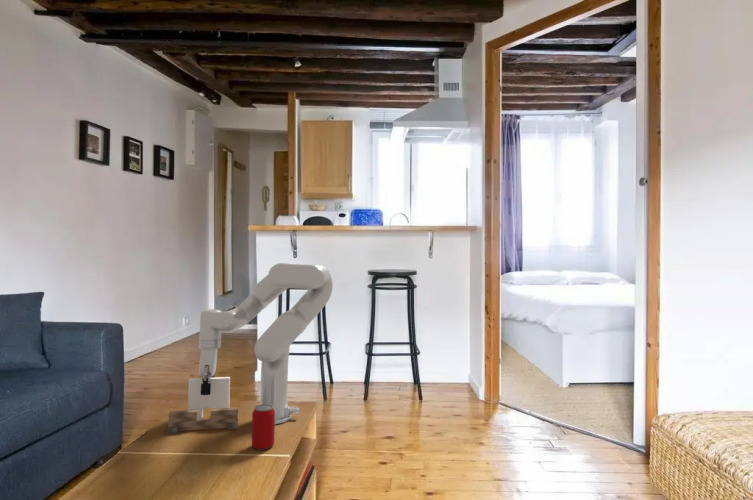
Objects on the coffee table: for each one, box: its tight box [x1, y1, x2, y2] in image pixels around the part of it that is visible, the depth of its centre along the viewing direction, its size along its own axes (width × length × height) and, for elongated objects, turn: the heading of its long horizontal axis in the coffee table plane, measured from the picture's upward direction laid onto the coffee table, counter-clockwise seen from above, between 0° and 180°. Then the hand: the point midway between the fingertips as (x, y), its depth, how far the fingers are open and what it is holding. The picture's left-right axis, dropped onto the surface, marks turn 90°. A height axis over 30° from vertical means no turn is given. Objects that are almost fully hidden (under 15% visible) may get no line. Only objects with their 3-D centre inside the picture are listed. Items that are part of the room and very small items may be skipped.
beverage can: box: [251, 404, 276, 451], centre depth 136 cm, size 7×7×12 cm
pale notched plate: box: [187, 376, 231, 419], centre depth 161 cm, size 2×14×14 cm, turn 103°
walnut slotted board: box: [166, 407, 239, 435], centre depth 150 cm, size 22×6×6 cm, turn 103°
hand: (207, 390), depth 161 cm, fingers open, 9 cm apart
